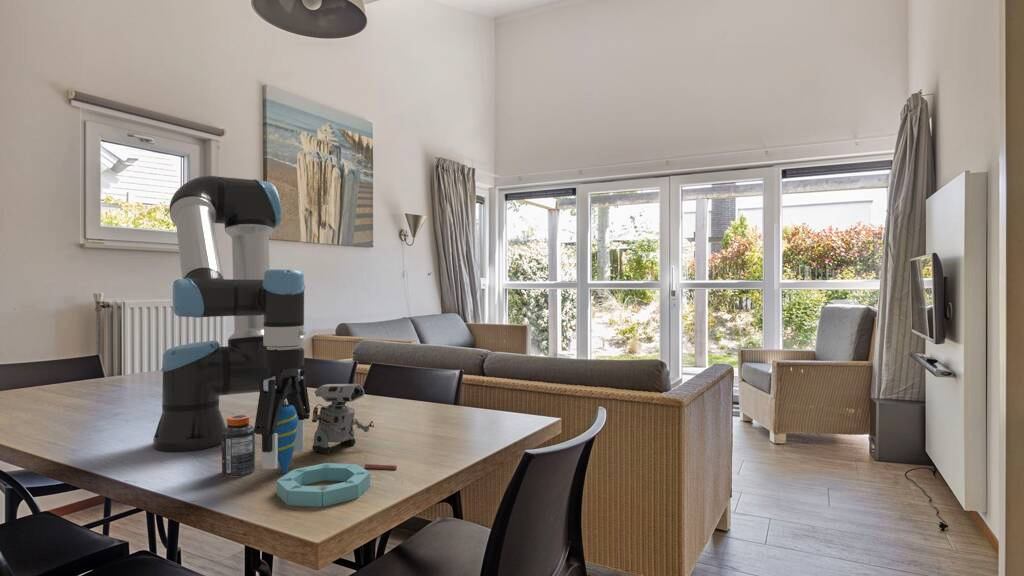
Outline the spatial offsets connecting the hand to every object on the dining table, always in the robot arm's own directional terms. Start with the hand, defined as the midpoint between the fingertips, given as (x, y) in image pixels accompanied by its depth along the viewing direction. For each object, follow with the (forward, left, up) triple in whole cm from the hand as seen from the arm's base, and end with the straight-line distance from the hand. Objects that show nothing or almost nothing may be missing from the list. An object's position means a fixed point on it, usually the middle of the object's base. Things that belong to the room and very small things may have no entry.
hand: (284, 459), depth 114 cm
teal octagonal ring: (+12, -8, -3) cm, 15 cm away
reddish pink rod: (+18, +5, -3) cm, 19 cm away
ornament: (0, 0, -3) cm, 3 cm away
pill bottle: (-9, -1, -3) cm, 10 cm away
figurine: (+5, +17, -3) cm, 18 cm away
